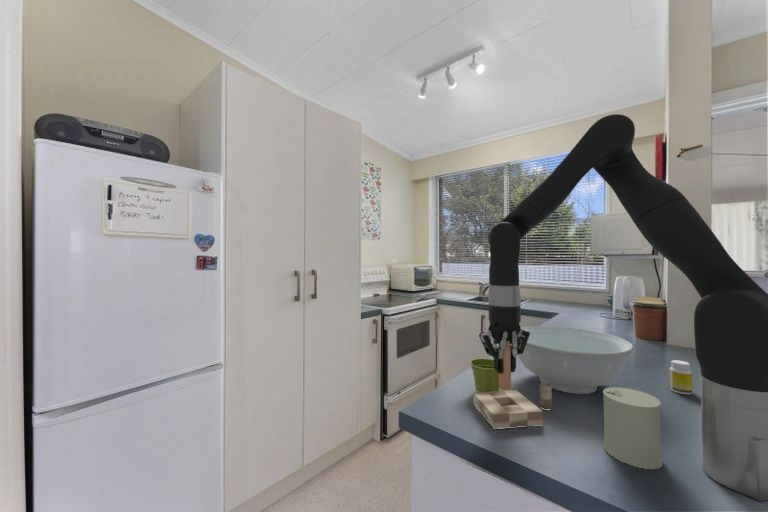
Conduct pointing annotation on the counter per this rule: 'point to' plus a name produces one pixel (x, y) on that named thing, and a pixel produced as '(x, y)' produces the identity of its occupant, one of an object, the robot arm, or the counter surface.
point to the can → (632, 427)
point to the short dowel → (545, 396)
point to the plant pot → (485, 375)
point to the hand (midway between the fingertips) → (505, 371)
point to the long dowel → (506, 369)
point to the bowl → (574, 357)
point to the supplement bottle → (680, 377)
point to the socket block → (507, 409)
